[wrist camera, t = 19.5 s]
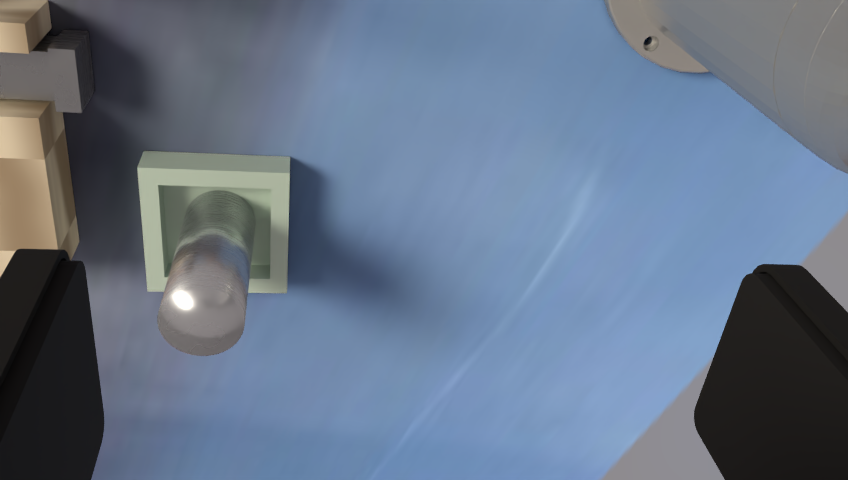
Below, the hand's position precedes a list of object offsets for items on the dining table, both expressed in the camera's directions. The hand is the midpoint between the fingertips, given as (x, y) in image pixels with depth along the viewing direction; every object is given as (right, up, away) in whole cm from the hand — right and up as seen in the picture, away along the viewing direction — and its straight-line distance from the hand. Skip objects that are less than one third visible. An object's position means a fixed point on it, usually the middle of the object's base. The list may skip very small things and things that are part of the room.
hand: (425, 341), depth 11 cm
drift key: (-21, +11, +29) cm, 38 cm away
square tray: (-12, +3, +36) cm, 38 cm away
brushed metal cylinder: (-12, +3, +35) cm, 37 cm away
